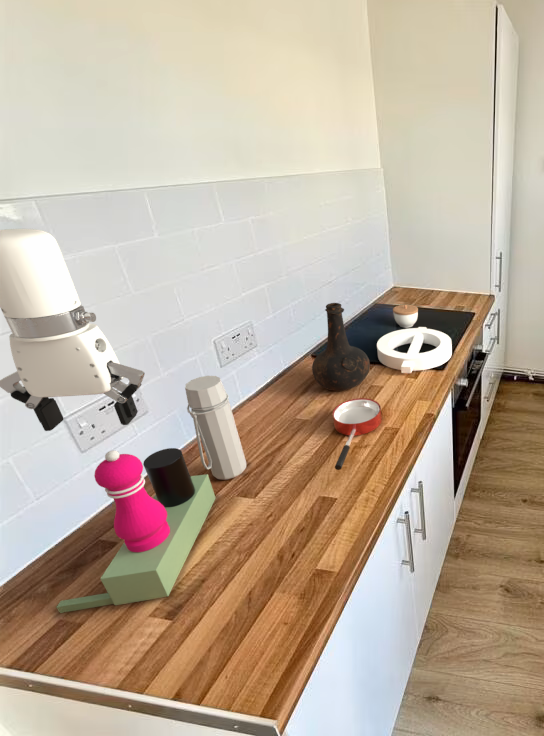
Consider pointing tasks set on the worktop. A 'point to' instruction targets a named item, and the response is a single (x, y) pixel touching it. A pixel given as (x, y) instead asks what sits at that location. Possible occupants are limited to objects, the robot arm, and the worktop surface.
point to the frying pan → (355, 421)
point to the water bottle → (215, 427)
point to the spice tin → (169, 477)
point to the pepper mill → (132, 502)
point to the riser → (152, 557)
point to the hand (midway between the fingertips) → (93, 422)
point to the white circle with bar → (414, 349)
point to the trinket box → (405, 315)
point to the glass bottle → (339, 356)
